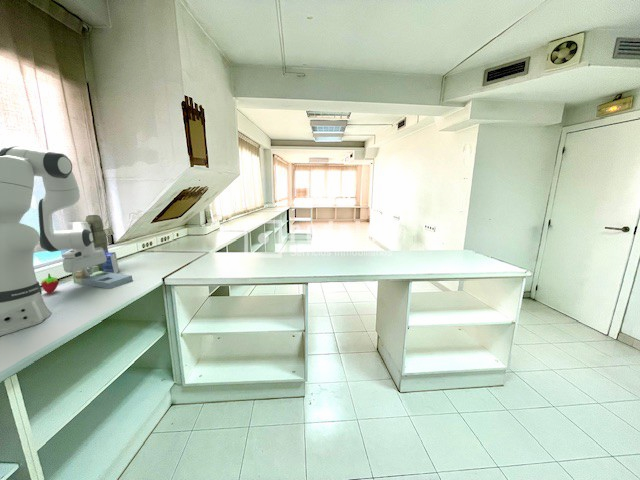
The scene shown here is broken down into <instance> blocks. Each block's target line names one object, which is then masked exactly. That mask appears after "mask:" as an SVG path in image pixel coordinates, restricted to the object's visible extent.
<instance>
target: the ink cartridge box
mask: <svg viewBox="0 0 640 480" xmlns="http://www.w3.org/2000/svg"><path fill="white" fill-rule="evenodd" d="M105 252H106V253H105ZM104 253H105V255H106V259H107V260H106V262H104V263H101V264H102V268H103V272H111V273H118V272H119V271H120V268H119V263H118V262H119V261H118V257H117V253H116V252H115V251H114V252H113V251H111V252H109V251H108V252H107V251H106V250H104Z"/></svg>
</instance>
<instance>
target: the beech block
mask: <svg viewBox="0 0 640 480" xmlns="http://www.w3.org/2000/svg"><path fill="white" fill-rule="evenodd" d="M87 271H88V272H89V270H87ZM75 276H76V279H84V278H87V277H90V275H89V276H85V273H84V272H83V271H82V270H79V271H76V272H75Z"/></svg>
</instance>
